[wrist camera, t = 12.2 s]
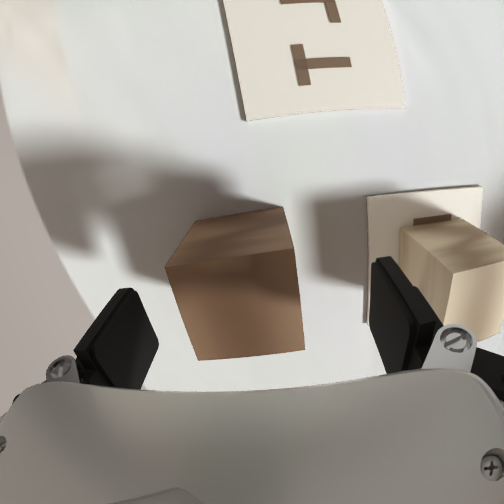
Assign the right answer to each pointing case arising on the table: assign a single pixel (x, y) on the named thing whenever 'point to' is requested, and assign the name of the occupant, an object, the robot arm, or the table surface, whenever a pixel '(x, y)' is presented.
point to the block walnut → (238, 286)
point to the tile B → (415, 217)
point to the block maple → (457, 273)
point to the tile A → (313, 56)
